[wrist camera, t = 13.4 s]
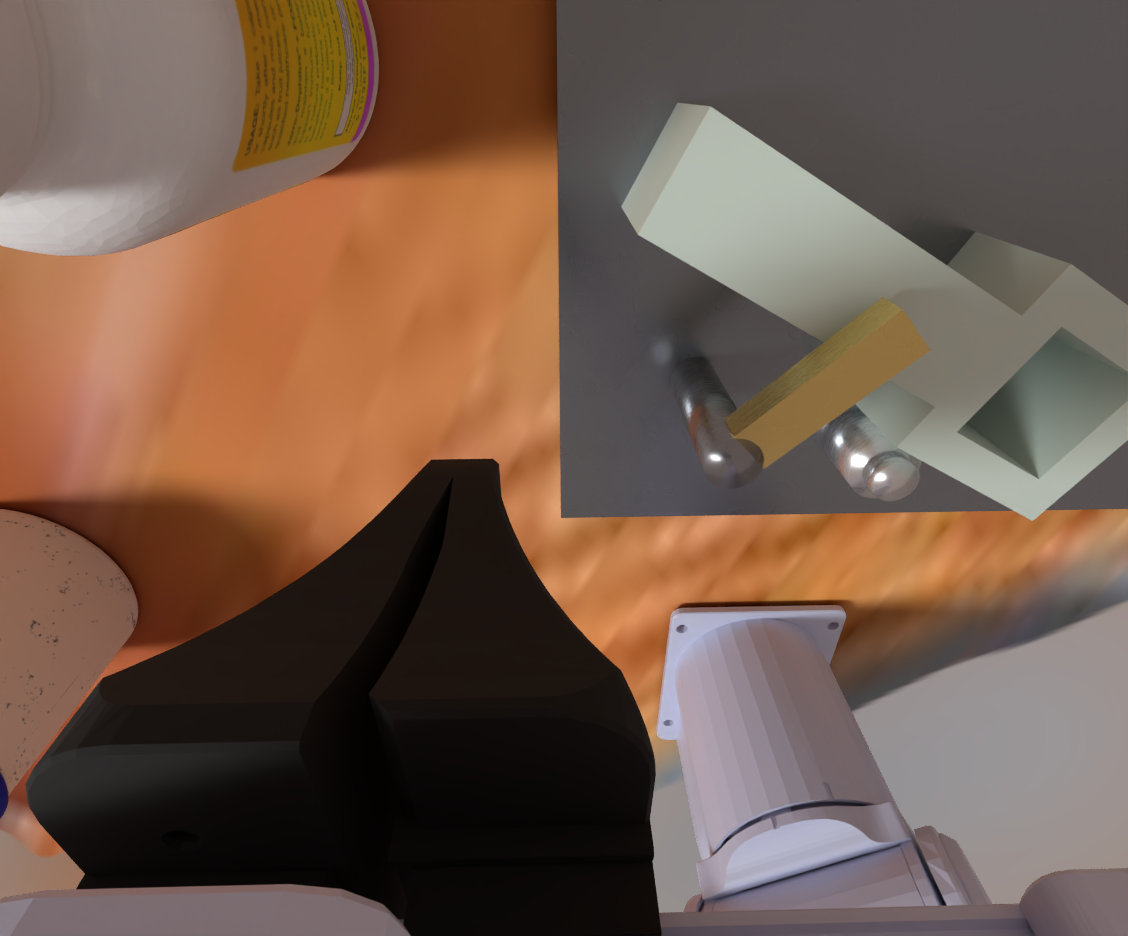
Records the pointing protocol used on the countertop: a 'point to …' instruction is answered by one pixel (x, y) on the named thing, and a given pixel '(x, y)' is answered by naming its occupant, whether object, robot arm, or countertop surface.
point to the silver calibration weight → (870, 458)
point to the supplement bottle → (170, 112)
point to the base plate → (842, 161)
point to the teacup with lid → (52, 632)
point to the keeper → (791, 395)
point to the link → (905, 310)
